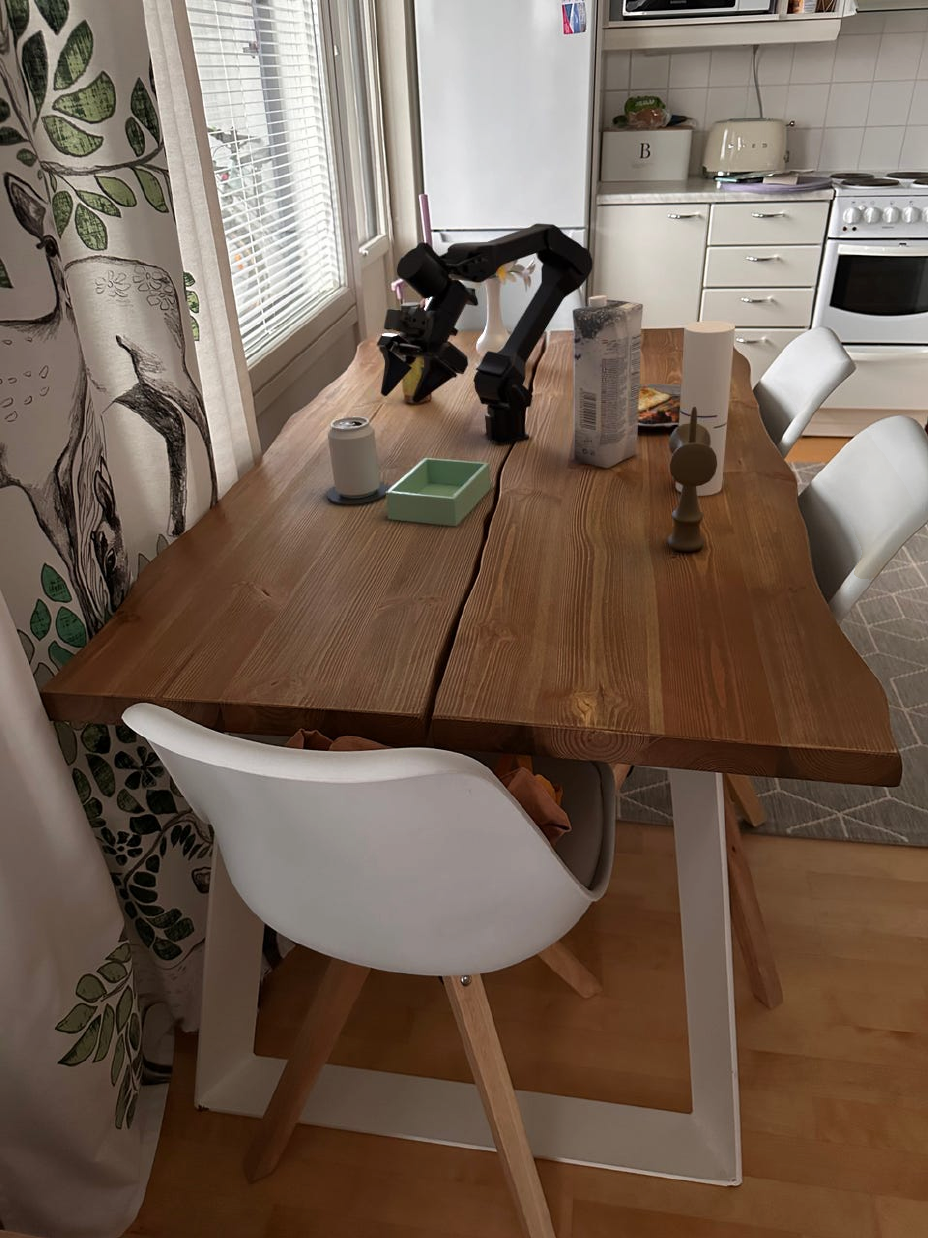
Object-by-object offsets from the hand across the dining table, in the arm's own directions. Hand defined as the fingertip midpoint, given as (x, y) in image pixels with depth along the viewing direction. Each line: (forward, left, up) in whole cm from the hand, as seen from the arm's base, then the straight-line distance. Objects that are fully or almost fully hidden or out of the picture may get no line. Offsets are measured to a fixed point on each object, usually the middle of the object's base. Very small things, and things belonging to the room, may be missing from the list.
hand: (398, 398), depth 153 cm
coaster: (+10, +4, -14) cm, 17 cm away
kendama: (-25, +47, -14) cm, 55 cm away
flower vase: (-45, -60, -14) cm, 77 cm away
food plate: (-53, -5, -14) cm, 55 cm away
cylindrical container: (-39, +30, -14) cm, 51 cm away
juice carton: (-33, +11, -14) cm, 37 cm away
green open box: (-1, +15, -14) cm, 20 cm away
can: (+10, +4, -13) cm, 17 cm away
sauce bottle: (-17, -40, -14) cm, 46 cm away
